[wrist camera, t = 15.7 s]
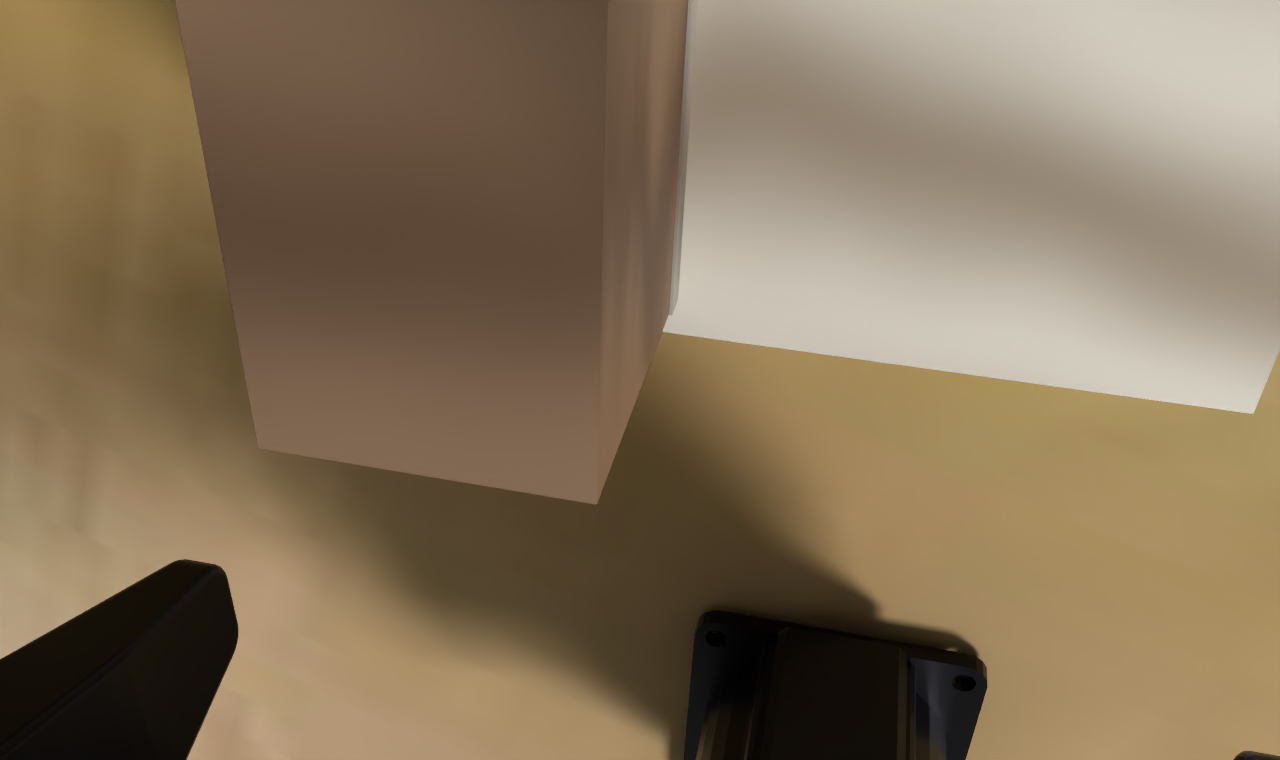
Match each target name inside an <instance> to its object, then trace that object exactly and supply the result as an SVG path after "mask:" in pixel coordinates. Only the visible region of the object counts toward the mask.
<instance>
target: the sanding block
mask: <svg viewBox="0 0 1280 760" xmlns="http://www.w3.org/2000/svg"><path fill="white" fill-rule="evenodd" d="M175 3H176V9H177V14H178V20H179V25H180V30H181V36H182V41H183V46H184V52H185V57H186V63H187V68H188V73H189V79H190V84H191V89H192V95H193V100H194V106H195V111H196V116H197V122H198V127H199V133H200V138H201V143H202V149H203V154H204V159H205V165H206V170H207V176H208V181H209V186H210V192H211V197H212V202H213V208H214V213H215V219H216V224H217V229H218V235H219V240H220V246H221V251H222V256H223V262H224V267H225V272H226V278H227V283H228V289H229V294H230V299H231V305H232V310H233V315H234V321H235V326H236V332H237V337H238V342H239V348H240V353H241V359H242V364H243V369H244V375H245V380H246V385H247V391H248V396H249V402H250V407H251V412H252V418H253V423H254V428H255V434H256V439H257V445H258V448H259V449H265V450H271V451H277V452H283V453H289V454H295V455H301V456H307V457H313V458H319V459H325V460H331V461H337V462H343V463H349V464H355V465H361V466H367V467H373V468H379V469H385V470H391V471H397V472H403V473H409V474H415V475H421V476H427V477H433V478H439V479H445V480H451V481H457V482H463V483H469V484H475V485H481V486H487V487H494V488H500V489H506V490H512V491H518V492H524V493H530V494H536V495H542V496H548V497H554V498H560V499H566V500H572V501H578V502H584V503H590V504H596V505H597V503H598V500H599V498H600V495H601V492H602V490H603V487H604V484H605V482H606V479H607V476H608V474H609V471H610V469H611V466H612V463H613V461H614V458H615V455H616V453H617V450H618V447H619V445H620V442H621V439H622V437H623V434H624V432H625V429H626V426H627V424H628V421H629V418H630V416H631V413H632V410H633V408H634V405H635V402H636V400H637V397H638V395H639V392H640V389H641V387H642V384H643V381H644V379H645V376H646V373H647V371H648V368H649V365H650V363H651V360H652V358H653V355H654V352H655V350H656V347H657V344H658V342H659V339H660V336H661V334H662V331H663V328H664V326H665V323H666V321H667V318H668V315H671V316H672V314H673V312H674V309H675V306H676V304H677V301H678V293H679V278H680V263H681V247H682V232H683V217H684V201H685V186H686V171H687V156H688V140H689V125H690V110H691V94H692V79H693V64H694V49H695V33H696V18H697V3H698V0H175Z"/></svg>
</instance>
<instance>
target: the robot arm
mask: <svg viewBox="0 0 1280 760" xmlns="http://www.w3.org/2000/svg"><path fill="white" fill-rule="evenodd" d="M712 631H719V632H722V633H724V634H716V633H714V632H712ZM237 640H238V623H237V619H236V614H235V610H234V606H233V601H232V597H231V592H230V588H229V584H228V579H227V576H226V573H225V572H224V570H223V569H222V568H221V567H220V566H217V565H215V564H209V563H204V562H198V561H193V560H186V559H184V560H178V561H175V562H172V563H170V564H168V565H167V566H165V567H163V568H161V569H159V570H158V571H156V572H154V573H152V574H151V575H149V576H147V577H145V578H144V579H142V580H140V581H138V582H136V583H135V584H133V585H131V586H129V587H128V588H126V589H124V590H122V591H121V592H119V593H117V594H115V595H113V596H112V597H110V598H108V599H106V600H105V601H103V602H101V603H99V604H98V605H96V606H94V607H92V608H90V609H89V610H87V611H85V612H83V613H82V614H80V615H78V616H76V617H74V618H73V619H71V620H69V621H67V622H66V623H64V624H62V625H60V626H59V627H57V628H55V629H53V630H51V631H50V632H48V633H46V634H44V635H43V636H41V637H39V638H37V639H36V640H34V641H32V642H30V643H28V644H27V645H25V646H23V647H21V648H20V649H18V650H16V651H14V652H13V653H11V654H9V655H7V656H5V657H4V658H2V659H0V760H187V757H188V755H189V753H190V751H191V749H192V746H193V744H194V742H195V740H196V737H197V735H198V733H199V731H200V728H201V726H202V724H203V722H204V719H205V717H206V715H207V713H208V710H209V708H210V706H211V704H212V701H213V699H214V697H215V695H216V692H217V690H218V688H219V686H220V683H221V681H222V679H223V677H224V674H225V672H226V670H227V668H228V665H229V663H230V661H231V659H232V656H233V654H234V651H235V648H236V645H237ZM959 675H967V676H970V677H968V678H961V677H958V676H959ZM986 690H987V670H986V666H985V664H984V663H983V661H981V660H980V659H979V658H977V657H975V656H972V655H969V654H965V653H959V652H954V651H948V650H942V649H936V648H931V647H925V646H919V645H914V644H908V643H902V642H897V641H891V640H885V639H880V638H874V637H868V636H862V635H857V634H851V633H845V632H840V631H834V630H828V629H823V628H817V627H811V626H806V625H800V624H794V623H788V622H783V621H777V620H771V619H766V618H760V617H754V616H749V615H743V614H737V613H732V612H726V611H717V610H712V611H708V612H705V613H704V614H703V615H701V616H700V618H699V620H698V623H697V627H696V632H695V638H694V649H693V661H692V672H691V683H690V695H689V706H688V717H687V729H686V740H685V751H684V760H965V759H966V756H967V753H968V749H969V746H970V743H971V739H972V736H973V733H974V729H975V726H976V723H977V720H978V716H979V713H980V710H981V706H982V703H983V700H984V696H985V693H986ZM1234 760H1280V756H1276V755H1270V754H1264V753H1259V752H1253V751H1243V752H1241V753H1239V754H1238V755H1237V756H1236V757H1235V759H1234Z"/></svg>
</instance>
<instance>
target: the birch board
mask: <svg viewBox="0 0 1280 760" xmlns="http://www.w3.org/2000/svg"><path fill="white" fill-rule="evenodd" d="M662 332H667V333H674V334H682V335H689V336H696V337H703V338H710V339H718V340H725V341H732V342H739V343H746V344H754V345H761V346H768V347H775V348H782V349H790V350H797V351H804V352H811V353H818V354H826V355H833V356H840V357H847V358H854V359H862V360H869V361H876V362H883V363H890V364H898V365H905V366H912V367H919V368H926V369H934V370H941V371H948V372H955V373H962V374H970V375H977V376H984V377H991V378H998V379H1006V380H1013V381H1020V382H1027V383H1034V384H1042V385H1049V386H1056V387H1063V388H1070V389H1078V390H1085V391H1092V392H1099V393H1106V394H1114V395H1121V396H1128V397H1135V398H1142V399H1150V400H1157V401H1164V402H1171V403H1178V404H1186V405H1193V406H1200V407H1207V408H1214V409H1222V410H1229V411H1236V412H1243V413H1250V414H1253V413H1254V411H1255V408H1256V406H1257V404H1258V401H1259V399H1260V396H1261V394H1262V391H1263V389H1264V387H1265V384H1266V382H1267V379H1268V377H1269V374H1270V372H1271V369H1272V367H1273V365H1274V362H1275V360H1276V357H1277V355H1278V352H1279V350H1280V0H698V3H697V18H696V33H695V49H694V64H693V79H692V94H691V110H690V125H689V140H688V156H687V171H686V186H685V201H684V217H683V232H682V247H681V263H680V278H679V293H678V301H677V304H676V306H675V309H674V312H673V314H672V316H671V315H668V318H667V321H666V323H665V326H664V328H663V331H662Z"/></svg>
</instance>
